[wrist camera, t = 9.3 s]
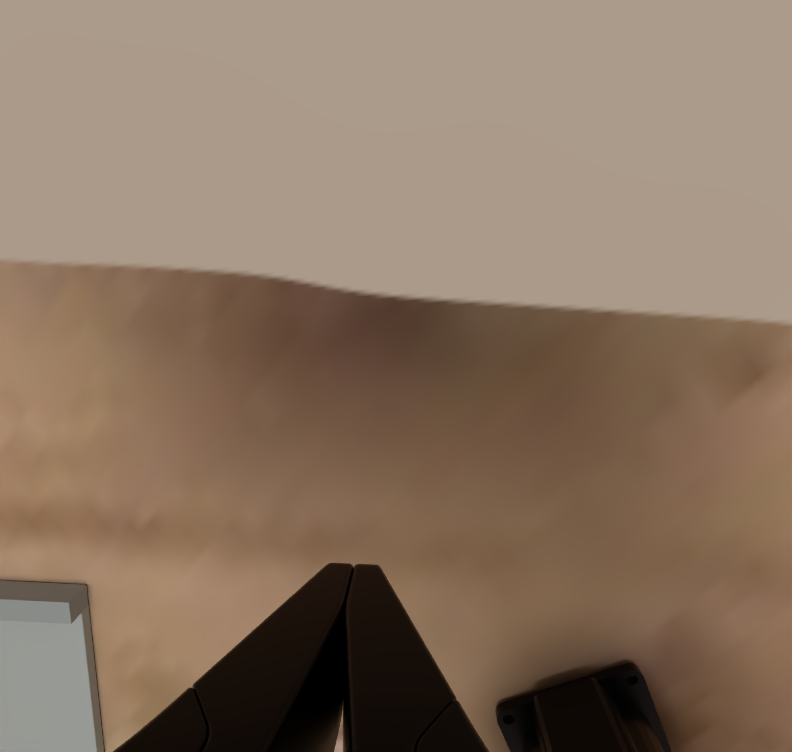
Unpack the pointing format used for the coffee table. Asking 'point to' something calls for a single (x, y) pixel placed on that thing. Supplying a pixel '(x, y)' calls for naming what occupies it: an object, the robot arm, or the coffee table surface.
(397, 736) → the robot arm
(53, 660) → the slate lane
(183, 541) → the coffee table surface
